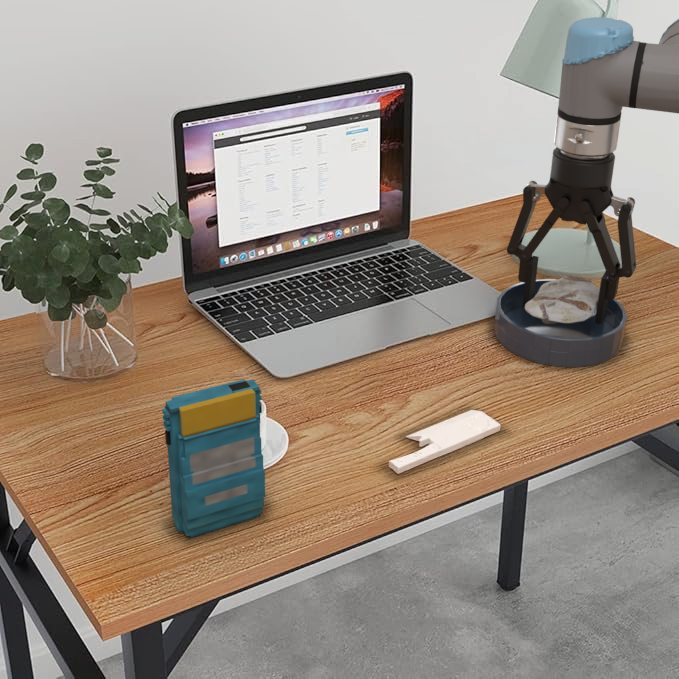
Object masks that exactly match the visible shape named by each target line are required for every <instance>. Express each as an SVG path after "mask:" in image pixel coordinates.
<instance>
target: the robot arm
mask: <svg viewBox="0 0 679 679" xmlns="http://www.w3.org/2000/svg"><path fill="white" fill-rule="evenodd" d="M634 39H635V36H634V28H633V26H632V24H630V23H629V22H627V21H626V20H622V19H615V18H612V17H600V16H598V17H597V16H594V17H586V18H581V19H577V20H576V21H575V22H573V23H572V24H571V25H570V26H569V28H568V30H567V36H566V42H565V48H564V54H563V58H562V62H561V64H562V66H561V76H560V85H559V86H560V88H559V94H558V97H559V99H558V106H557V114H556V122H555V123H556V124H555V132H554V139H553V140H554V141H553V142H554V144H553V145H554V146H555V148H554V149H553V151H552V156H551V166H550V174H549V181H548V183H547V184H544V183H543V184H542V183H541V184H540V183H538V182H537V181H535V180H529V182H528V183H527V184H526V185H525V186H524V188H523V189H522V206H521V209H520V212H519V214H518V217H517V220H516V223H515V225H514V228H513V231H512V234H511V236H510V239H509V242H508V244H507V246H506V252H507V254H508V255H510V256H515V257H517V258H518V260H519V265H518V266H519V267H518V276H517V278H518V281H519V282H518V283H521V282H524V283H525V289H524V298H523V308H525V304H526V303H527V302H528V301H530V300H531V299H533V298H534V293H535V284H536V280H537V275H538V265H539V256H537V255H533V254H534V253H535V252H536V250H537V249H538V247H539V246H540V245H541V243H542V242H543V240H544V239H545V238H546V236H547V235H548V234H549V232H550V231H551V230H552V228H553V226H555V224H556V223H557V221H558V220H559V219H560V220H561V221H563V222H575V223H577V224H579V225H584V226H587V228H588V231H589V233H591V234H592V237H593V241H594V243H595V246H596V247H597V248H596V249H597V251H598V254H599V256H600V259H601V261H602V264H603V266H604V268H605V272H604V273H603V275H602V276H601V278H600V284H599V289H600V291H599V298H598V305H597V312H596V319H595V323H597V324H601V323H602V321H603V319H604V317H605V315H606V308H607V301H608V300H611V301H613V299H614V298H615V299H616V296H617V294H618V290H619V284H620V278H627V279H629V278H631V277H632V276H633V274H634V273H635V271H636V269H637V260H636V249H635V238H634V237H635V236H634V228H633V217H632V215H633V212H634V208H635V205H636V199H635V198H634V197H627V198H622V197H619V196H616V195H614V193H613V190H612V182H613V174H614V167H615V160H616V155H615V153H614V152H615V151H616V150H617V147H618V141H619V133H620V127H621V118H622V109H623V108H630V109H639V110H646V111H654V112H655V111H656V112H664V113H670V114H671V113H672V114H679V18H677V19H676V20H674V21H673V22H672V23H671V24H670V25H668V27H667V28H666V30H665V31H664V32H663V33H662V35H661V37H660V39H659V41H658V43H651V42H650V43H648V42H644V41H643V42H641V41H637V40H634ZM543 195H545V197H546V199H547V201H548V202H549V204H550V206H551V208H552V210H551V212H550V213H549V214H548V216H547V217H546V218H545V219H544V221H543V223H542V224H541V225H540V227H539V228H538V230H537V231H536V233H534V235H533V236H532V238H531V239H530V241H529V242H528V243H527V245H525V244H523V241H524V238H525V235H526V232H527V230H528V227H529V224H530V222H531V219H532V217H533V214H534V211H535V209H536V205H537V202H539V201H540V200H541V199H542V198H543ZM609 207H612V209H613V213H614V215H615V216H617V217H618V218H617V232H618V240H619V241H618V242H619V251H620V252H619V253H620V260H619V256H618V254H617V252H616V248H615V246H614V243H613V240H612V238H611V235H610V232H609V230H608V227H607V225H606V218H605V215H604V212H605V211H606V210H607V209H608V208H609Z"/></svg>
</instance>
